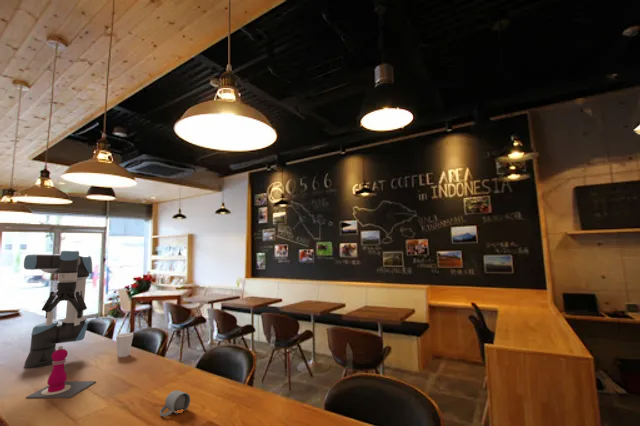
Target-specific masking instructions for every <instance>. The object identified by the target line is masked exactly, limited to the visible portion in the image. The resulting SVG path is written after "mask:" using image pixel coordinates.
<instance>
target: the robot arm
mask: <svg viewBox="0 0 640 426" xmlns="http://www.w3.org/2000/svg"><path fill="white" fill-rule="evenodd" d="M92 260H93V259H92V257H91V256H90V255H86V254H80V252H79V251H78V250H61V251H60V254H27V255H25V257H24V260H23V268H24V269H25V270H31V271H32V270H33V271H34V270H39V271H40V270H41V271H42V272H43V273H49V274H52V275H57V276H58V277H57V283H56V284H57V285H56V290H53V291H50V293H49V296H48V298H47V300H46V302H45V304H43V307H42V308H41V311H45V319H46V320H45V321H46V322H43V323H40V324H37V325H35V326H34V327H33V328H32V331H31V340H30V348H29V352H28V355H27V357H26V359H25V361H24V365H23V366H24V368H31V369H33V368H40V367H46V366H50V365H53V364H52V363H53V362H52V361H54V360H53V359H52V354H53V352H55V351H56V350H57V348H56V347H57V346H56V345H57V344H62V343H63V344H64V343H70V342H71V343H72V342H73V343H74V342H79V341H83V340H84V339H85V336H86V332H87V329H88V324H89V321H88V320H86V317H85V316H84V311H85V310H87V309H88V307H87V305H86V303H85V295H86V285H87V283H86V282H87V279H88V278H89V277H90V274H92V273H93V261H92ZM56 296H57V297H56ZM61 301H64V302H65V301H66V311H65V317H64V319H62V323H59V321H56V320H55V321H54V309H55V307H57V305H58V304H59V303H60V302H61Z"/></svg>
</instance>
